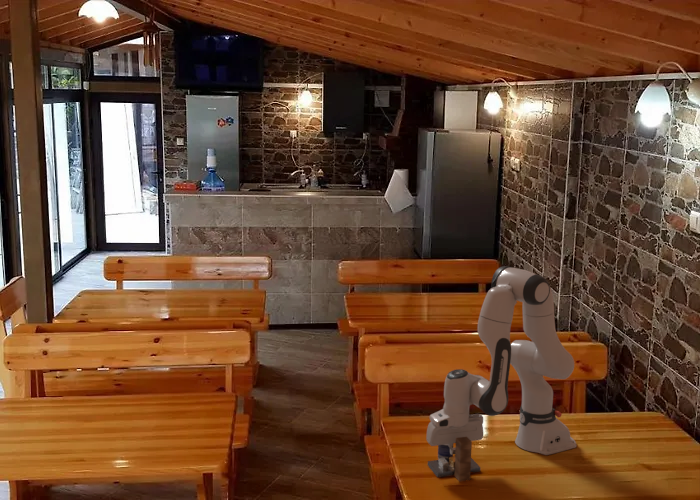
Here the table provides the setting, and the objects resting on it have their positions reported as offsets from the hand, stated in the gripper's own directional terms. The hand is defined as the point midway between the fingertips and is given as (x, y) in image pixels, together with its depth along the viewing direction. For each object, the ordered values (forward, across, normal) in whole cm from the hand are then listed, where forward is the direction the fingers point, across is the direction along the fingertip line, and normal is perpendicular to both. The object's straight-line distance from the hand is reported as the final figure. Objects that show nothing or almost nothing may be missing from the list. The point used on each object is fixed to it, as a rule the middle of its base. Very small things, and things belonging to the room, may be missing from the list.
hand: (454, 453), depth 264 cm
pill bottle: (+6, 0, -8) cm, 9 cm away
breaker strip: (+6, 0, 0) cm, 6 cm away
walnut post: (+6, 0, +7) cm, 9 cm away
